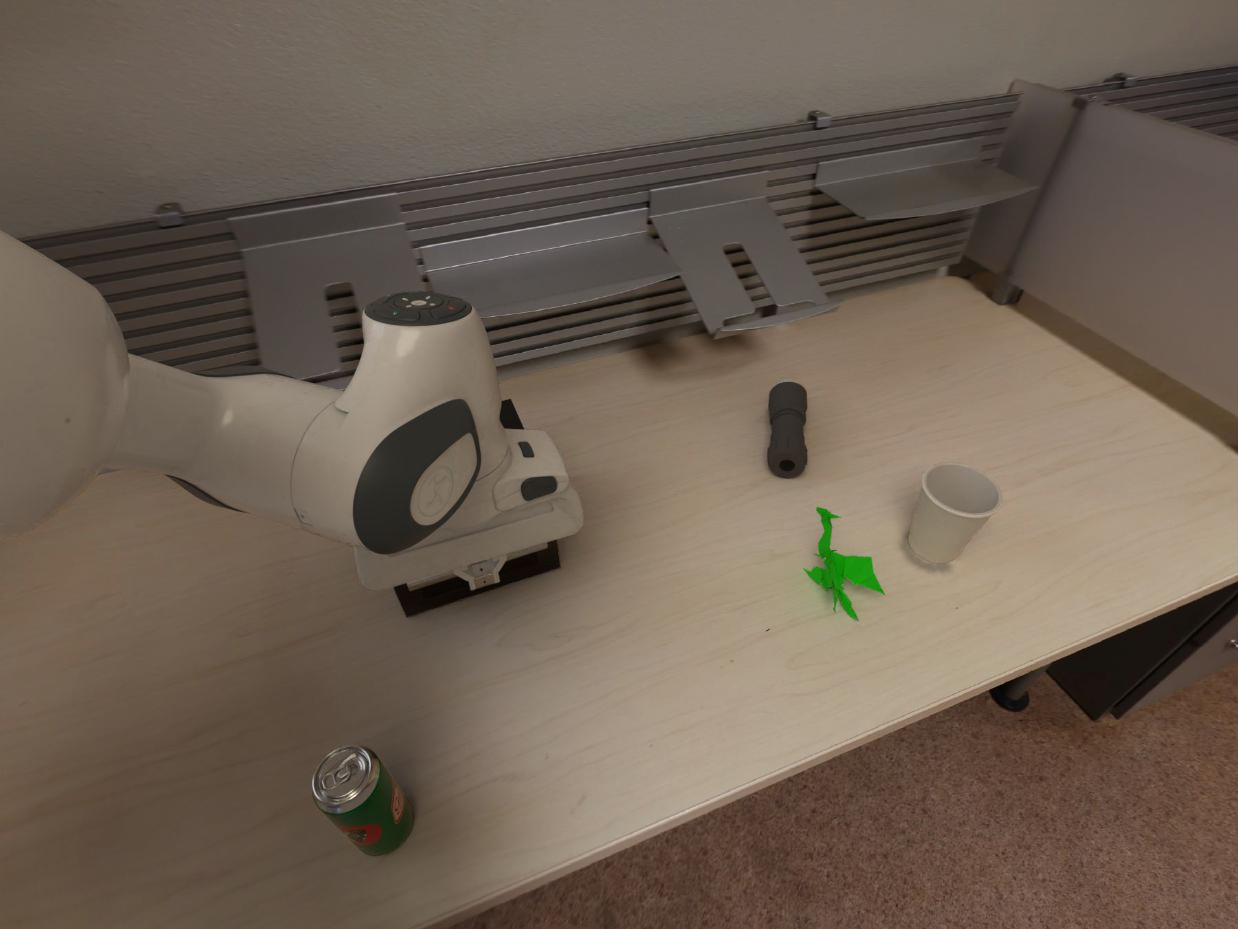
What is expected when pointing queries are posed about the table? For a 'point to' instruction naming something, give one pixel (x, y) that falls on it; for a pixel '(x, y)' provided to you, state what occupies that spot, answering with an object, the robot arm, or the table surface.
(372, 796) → the soda can
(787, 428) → the flashlight
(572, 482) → the robot arm
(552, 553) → the oven door
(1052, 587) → the table surface
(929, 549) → the dixie cup
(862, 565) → the figurine
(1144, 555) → the table surface
